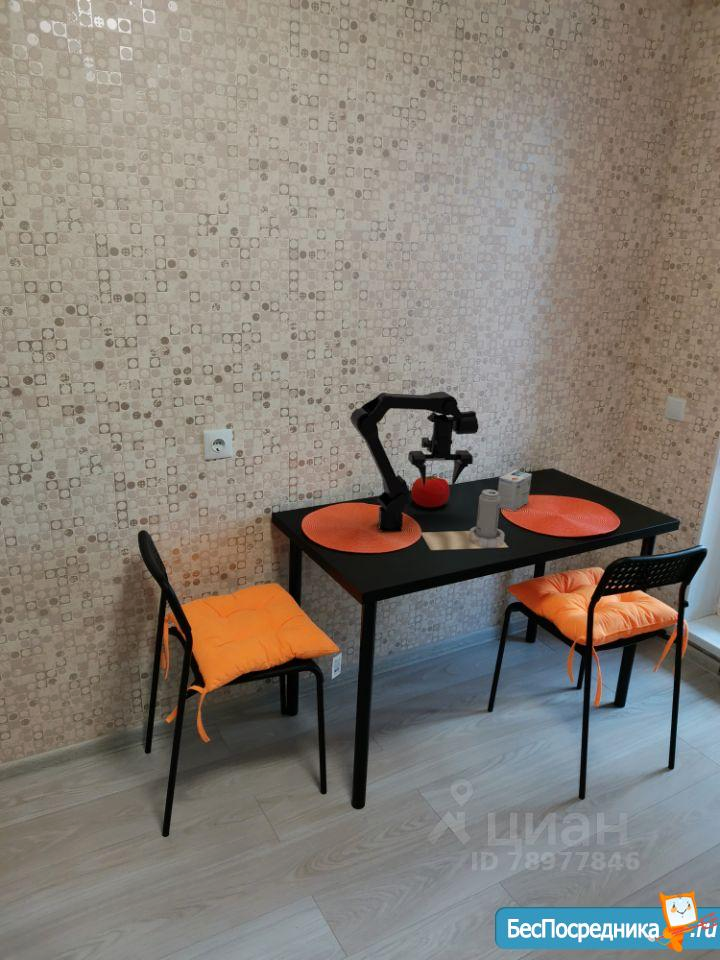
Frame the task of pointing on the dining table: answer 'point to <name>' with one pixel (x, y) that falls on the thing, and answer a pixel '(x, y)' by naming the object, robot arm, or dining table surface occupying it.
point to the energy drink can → (488, 514)
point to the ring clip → (486, 539)
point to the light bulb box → (514, 489)
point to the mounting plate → (451, 540)
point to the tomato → (430, 491)
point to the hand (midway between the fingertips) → (438, 484)
